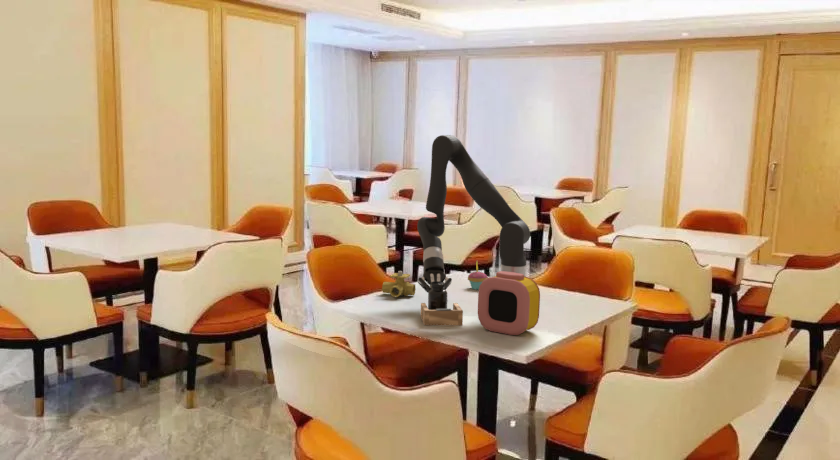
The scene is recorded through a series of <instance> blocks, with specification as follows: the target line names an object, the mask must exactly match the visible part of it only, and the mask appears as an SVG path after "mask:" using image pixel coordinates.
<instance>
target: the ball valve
mask: <svg viewBox="0 0 840 460" xmlns="http://www.w3.org/2000/svg"><path fill="white" fill-rule="evenodd" d="M409 277H411V274H410V273H403V271H402V270H398V272H394V273H392V274H391V275H389V278H393V279H395V278H396V280H394V282H393V281H383V283H382V288H381V291H382V293H385V294H389V295H391V297H393V298H399V297H401V296H402V297H403V296H404V297H408V296H415V294H416V284H415V283H414V284H413V283H410V282H409V281H405V279H408V278H409Z"/></svg>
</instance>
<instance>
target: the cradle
mask: <svg viewBox="0 0 840 460" xmlns="http://www.w3.org/2000/svg"><path fill="white" fill-rule="evenodd" d="M463 317H464V310H463V309H462V307H461V306H460V305H459V304H458V303H457V302H453V305H452V308H447V309H436V310H429V309H428V305H427V304H426V303H425V302H424V303H423V302H420V319H421V322H422V324H423V325H424V326H463V323H464V322H463V319H464V318H463Z"/></svg>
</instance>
